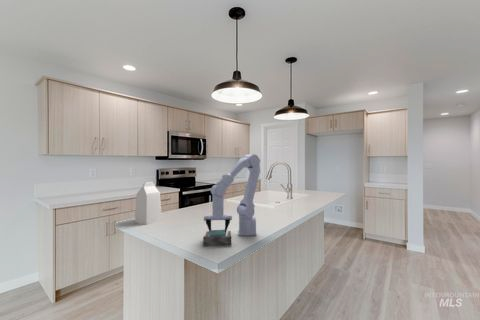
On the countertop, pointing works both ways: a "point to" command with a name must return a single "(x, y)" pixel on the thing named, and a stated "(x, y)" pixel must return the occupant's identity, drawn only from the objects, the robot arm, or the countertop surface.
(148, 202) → the milk
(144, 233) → the countertop surface
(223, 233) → the block
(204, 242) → the guide lane
